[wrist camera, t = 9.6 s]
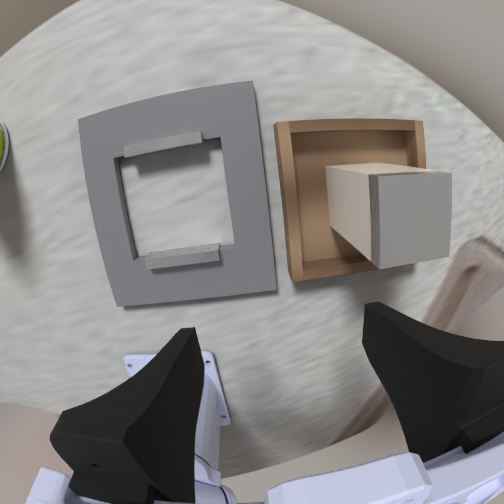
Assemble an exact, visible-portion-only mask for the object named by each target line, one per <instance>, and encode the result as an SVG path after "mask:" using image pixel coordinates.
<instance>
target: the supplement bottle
mask: <svg viewBox="0 0 504 504" xmlns="http://www.w3.org/2000/svg"><path fill="white" fill-rule="evenodd" d="M8 146H9V140H8V133H7V129H6V127H5V125H4V124H3V122H2V121H0V171H1V170H2V168H3V166H4V164H5V161H6V158H7V154H8Z"/></svg>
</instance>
